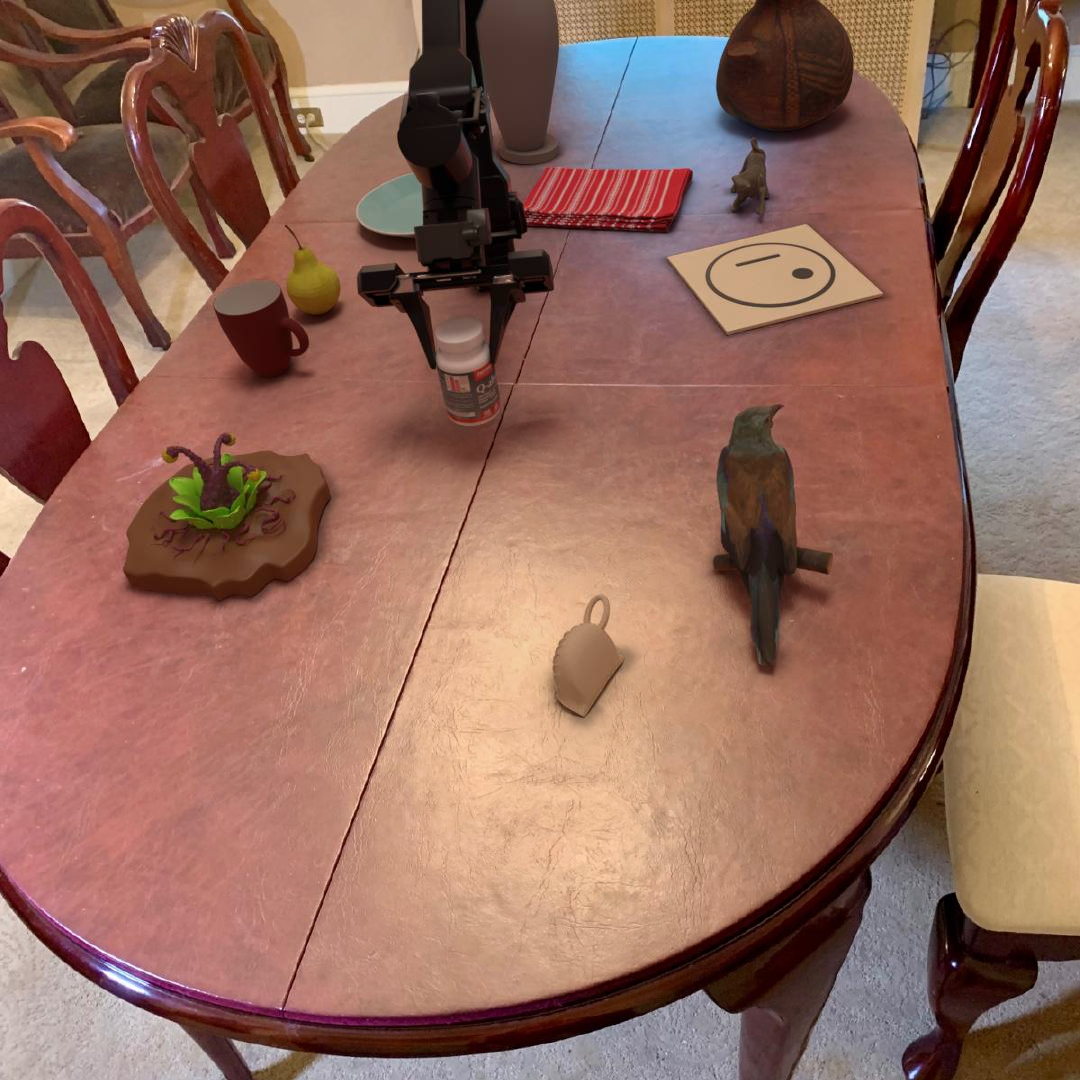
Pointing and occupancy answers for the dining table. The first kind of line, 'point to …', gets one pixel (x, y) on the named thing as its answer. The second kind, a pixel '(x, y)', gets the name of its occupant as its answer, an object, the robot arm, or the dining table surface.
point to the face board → (771, 278)
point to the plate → (393, 207)
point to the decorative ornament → (585, 661)
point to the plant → (227, 523)
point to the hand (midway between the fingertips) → (462, 366)
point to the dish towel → (607, 198)
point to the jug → (785, 65)
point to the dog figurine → (751, 179)
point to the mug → (260, 326)
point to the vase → (521, 75)
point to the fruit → (312, 282)
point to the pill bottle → (466, 372)
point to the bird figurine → (761, 522)
